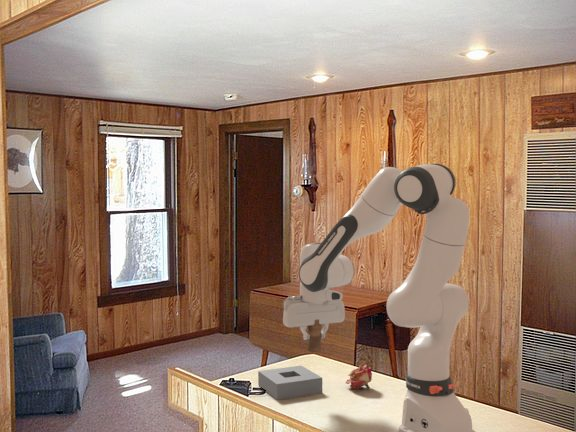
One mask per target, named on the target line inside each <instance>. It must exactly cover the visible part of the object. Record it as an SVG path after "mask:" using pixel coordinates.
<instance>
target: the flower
mask: <svg viewBox="0 0 576 432" xmlns="http://www.w3.org/2000/svg"><path fill="white" fill-rule="evenodd" d="M361 365H362V364H359V366H358V367H357V368H355V369H352V370H351V371H350V373H348V376H349V379H346V381H345V384H347V385H349V388H350V389H351V390H355V389H360V388H362V387H365V388H366V389H367V390H370V389H371V387H370V386H369V383H371V382H372V380H373V371H372V370H373V369H372V368H371V367H370V366H369V365H368V364H364V365H362V366H361Z"/></svg>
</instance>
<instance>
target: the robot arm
mask: <svg viewBox="0 0 576 432" xmlns="http://www.w3.org/2000/svg"><path fill="white" fill-rule="evenodd" d="M456 184H457V182H456V177H455V174H454V172H453V171H452V170H451V169H450V168H449V167H448V166H446V165H444V164H440V163H431V164H429V163H423V164H419V165H415V166H410V167H408V168H406V169H404V170H401V169H399V168H397V167H393V166H386V167H383V168H381V169H380V170H379V171H378V172H377V173H376V175H374V177H373V178H372V179H371V180H370V181H369V183H368V184H367V185H366V186H365V188H364V190H363V191H362V193H361V194H360V195H359V197H358V199H357V200H356V202H355V203H354V204H353V205H352V206H351V207H350V209H349V210H348V211H347V212H346V213H345V214H344V215H343V216H342V217H341V218H340V219H339V220H338V221H337V222H336V224H335V225H333V227H332V229H331V230H330V231H329V232H328V234H326V236H325V238H324V239H323V240H322V241H321V242H314V243H313V242H312V243H307V244H304V246H302V248H301V249H300V250H301V251H300V256H299V269H298V278H299V280H300V283H299V295H295V296H288V297H287V298H285V299H284V301H283V304H282V305H283V315H282V324H283V325H284V326H285V327H287V328H297V327H298V328H299V329H300V332H301V333H302V335H303V336H302V337H303V338H302V340H304V341H308V340H310V334H308V331H306V330H308V326H310V325H314V323H315V320H318V319H319V324H321V339H326V333H327V332H328V329H329V325H330V324H337V323H338V324H339V323H343V322H344V321H345V319H346V309H345V304H344V301H343V297H344V296H343V295H344V294H343V293H342V292H340V291H337V290H334V289H335V288H339V287H345V286H347V285H349V284H350V283H351V282H352V281H353V278H354V276H355V266H354V264H353V261H352V260H351V258H350V257H348V256H347V255H344V254H342V253H343V252H344V251H345V249H346V248H347V247H348V246H349V245H351V244H352V243H354V242H355V241H357V240H360V239H362V238H366V237H368V236H372V235H374V234H375V235H376V234H378V233H379V232H381V231H383V230H384V229H385V228H387V226H388V225H389V224H390V223H391V222H392V221H393V219H394V217H395V216H396V215H397V213H398V212H399V210H400V208H401V207H402V206H403V205H404V206H406V207H408V208H409V209H411V210H413V211H415V212H416V213H418V214H419V215H425V217H426V220H425V226H424V231H423V234H422V238H421V243H420V245H419V246H420V247H419V250H418V254H417V258H416V260H415V263H414V265H413V266H412V269H411V270H410V272H409V273H408V274H407V276H406V278H405V279H404V281H403V282H402V283H401V285H400V286H398V287H397V288H396V289H395V290H393V291H392V292H391V293H390V294H389V296H388V297H387V301H386V313H387V316H388V319H390V321H391V322H392V323H393V324H394V325H395V326H397V327H401V328H411V329H412V328H413V329H415V328H419V330H418V332H417V334H416V335H415V337H414V338H413V339H412V340H411V341H410V343H409V345H408V346H407V372H406V376H405V386H406V387H405V388H407V390H406V394H405V397H404V399H403V407H402V417H401V424H399V426H398V432H476V430H474V429H473V422H472V421H473V420H472V416H471V414H470V411H469V409H468V408H467V407H465V406H464V405H463V404H462V402H461V401H460V399H459V398H458V397H457V396H456V394H455V392H454V391H455V389H456V388H457V387H456V386H457V384H456V383H453V381H452V378H451V375H450V359H451V357H450V353H451V352H450V351H451V346H452V341H453V339H454V336H455V332H456V329H457V327H458V325H459V324H460V321H461V320H462V319H463V317H465V315H466V314H467V312H468V310H469V306H470V302H469V296H468V293H467V292H466V290H465V289H464V288H463V287H461V286H460V285H458V284H453V283H450V282H449V281H450V279H452V278H453V277H454V276H455V275H457V273H458V272H459V270H460V268H461V267H460V266H461V262H462V259H463V256H464V252H465V247H466V245H467V239H468V234H469V228H470V215H471V214H470V213H471V212H470V208H469V205H468V204H467V203H466V202H464V201H463V200H462V199H460V198H458V197H455V196H452V194H453V193H454V192H455V188H456Z"/></svg>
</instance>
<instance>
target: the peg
mask: <svg viewBox="0 0 576 432" xmlns="http://www.w3.org/2000/svg"><path fill="white" fill-rule="evenodd" d="M321 330H322V324H319V319H318V320H315V323H314V325H310V326H307V333H308V334H310V340H307V351H308V352H310V353H318V352H321V351H322V338H321Z"/></svg>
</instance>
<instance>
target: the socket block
mask: <svg viewBox="0 0 576 432" xmlns="http://www.w3.org/2000/svg"><path fill="white" fill-rule="evenodd" d="M257 373H258V374H257V375H258V376H257V377H258V379H257V381H258V385H259V386H260V387H259V386H258V387H259V388H261V387H262V388H264V389H265V390H266V391H265V392H266V393H267V394H269V396H271V397H273V398H274V399H275V400H276V401H281V400H287V399H294V398H300V397H306V396H312V395H318V394H319V395H320V394H323V377H322V376H321V375H318V374H317V373H315V372H313V371H311V370H310V369H308V368H306V367H305V366H303V365H295V366H294V365H293V366H288V367H286V366H285V367H279V368H271V369H265V370H264V369H263V370H258V371H257ZM262 388H261V389H262Z"/></svg>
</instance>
